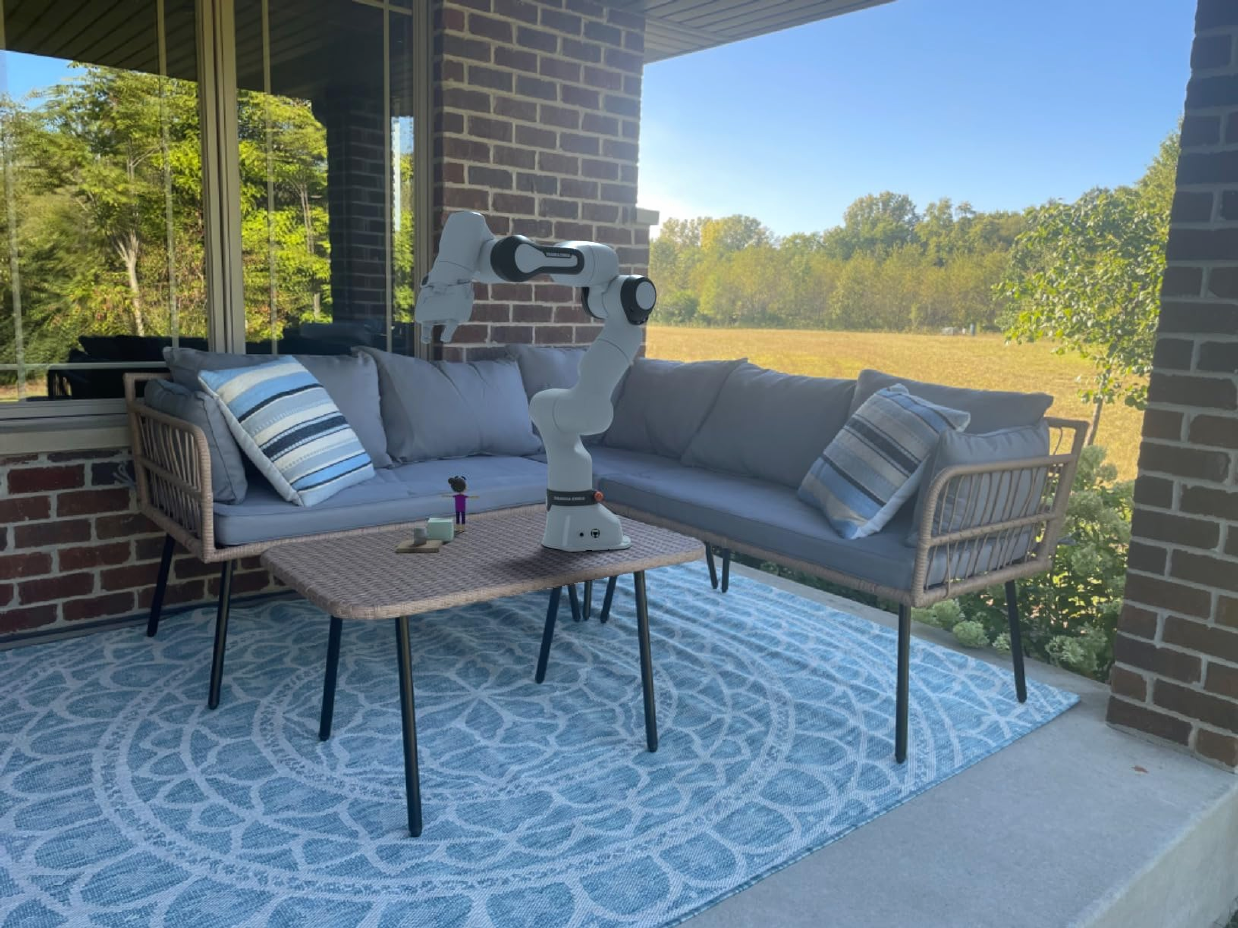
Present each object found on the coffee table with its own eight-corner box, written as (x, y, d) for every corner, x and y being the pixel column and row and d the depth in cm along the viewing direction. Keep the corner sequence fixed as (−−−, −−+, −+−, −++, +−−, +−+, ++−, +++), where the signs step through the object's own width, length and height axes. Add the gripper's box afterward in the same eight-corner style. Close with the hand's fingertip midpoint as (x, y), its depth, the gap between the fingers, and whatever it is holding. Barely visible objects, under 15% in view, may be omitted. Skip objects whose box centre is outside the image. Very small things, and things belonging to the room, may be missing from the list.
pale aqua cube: (453, 536, 234) (453, 517, 233) (451, 541, 228) (451, 521, 227) (430, 536, 233) (430, 517, 233) (427, 541, 228) (427, 522, 227)
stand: (443, 543, 226) (442, 523, 225) (438, 551, 216) (438, 531, 215) (402, 543, 225) (402, 524, 224) (396, 552, 215) (396, 532, 215)
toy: (481, 530, 242) (480, 475, 240) (475, 534, 237) (474, 478, 235) (444, 528, 243) (443, 474, 242) (437, 533, 238) (436, 477, 236)
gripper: (486, 283, 189) (470, 345, 188) (442, 290, 205) (426, 348, 204) (461, 272, 185) (444, 335, 184) (417, 280, 201) (401, 339, 200)
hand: (434, 342), depth 194 cm, fingers open, 8 cm apart
